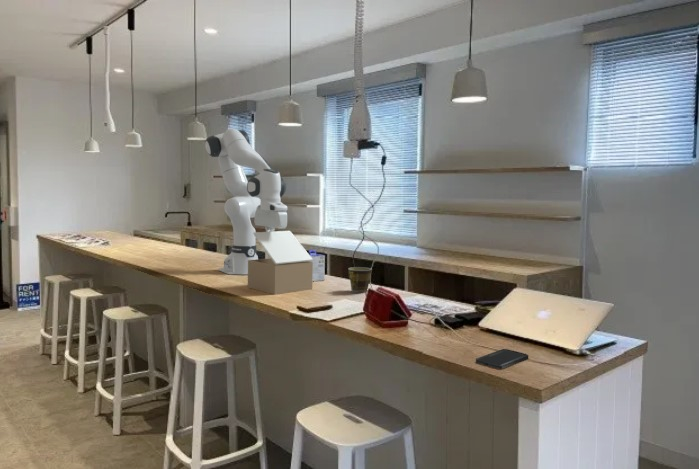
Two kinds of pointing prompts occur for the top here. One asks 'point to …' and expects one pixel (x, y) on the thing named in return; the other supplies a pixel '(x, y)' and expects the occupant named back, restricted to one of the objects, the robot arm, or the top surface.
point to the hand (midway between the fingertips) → (269, 237)
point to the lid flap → (282, 247)
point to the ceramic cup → (359, 279)
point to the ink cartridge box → (318, 266)
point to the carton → (279, 276)
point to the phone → (502, 358)
